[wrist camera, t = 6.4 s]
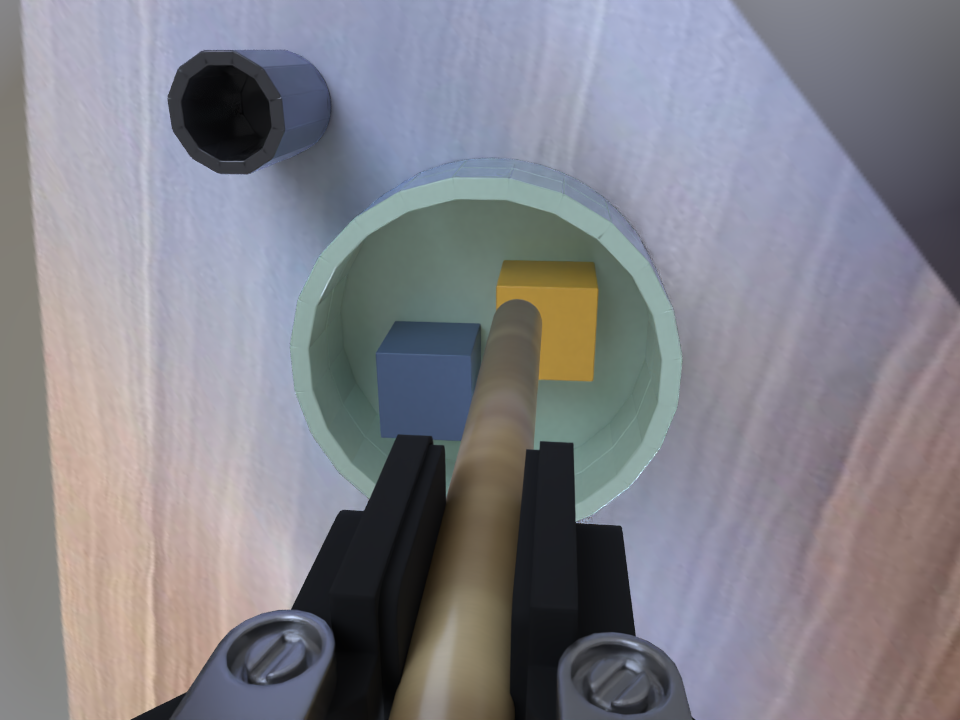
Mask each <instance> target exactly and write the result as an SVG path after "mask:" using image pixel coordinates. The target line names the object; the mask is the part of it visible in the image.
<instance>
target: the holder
mask: <svg viewBox="0 0 960 720" xmlns="http://www.w3.org/2000/svg"><path fill="white" fill-rule="evenodd" d="M168 105H169V112H170V118H171V125H172V129H173V132H174V133H175V135H176V136H177V138H178V139H179V141H180V142H181V144H182V145H183V147H184V148H185V149H186V151H187V152H188V154H189V155H190V157H192V159H194V160H196V161H197V162H199V163H201V164H203V165H204V166H206V167H208V168H210V169H211V170H213V171H215V172H217V173H220V174H251V173H253V172H255V171H258V170H260V169H263V168H265V167H268V166H270V165H273V164H275V163H278V162H280V161H283V160H285V159H288V158H290V157H293V156H295V155H298V154H299V153H301V152H302V151H304V150H306V149H308V148H310V147H311V146H313V145H314V144H315V143H316V142H317V141H318V140H319V139H320V138H321V137H322V135H323V134H324V132H325V130H326V129H327V126H328V123H329V119H330V114H331V101H330V95H329V91H328V88H327V85H326V83H325V81H324V79H323V77H322V76H321V74H320V73H319V71H318V70H317V69H316V68H315V67H314V65H312V64H311V63H310V62H309V61H308V60H306V59H305V58H303V57H302V56H300V55H298V54H296V53H293V52H290V51H288V50H204V51H201V52H200V53H198V54H197V55H195V56H194V57H193V58H191V59H190V60H188V61H187V62H186V63H184V64H183V65H181V66H180V67H179V69H178V70H177V73H176V75H175V78H174V81H173V83H172V86H171V89H170V92H169V94H168Z"/></svg>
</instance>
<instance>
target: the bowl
mask: <svg viewBox="0 0 960 720" xmlns="http://www.w3.org/2000/svg"><path fill="white" fill-rule="evenodd" d="M504 260H526V261H574V262H594V264H595V269H596V276H597V282H598V289H599V292H598V310H597V327H596V345H595V362H594V379H593V381H563V380H538V394H537V409H536V423H535V437H534V450H539V448H540V441H549V442H570V443H574V475H575V511H576V522H577V521H579V520H581V519H584V518H586V517H588V516H591V515H593V514H594V513H596V512H597V511H599V510H600V509H601V508H603V507H604V506H605V505H607V504H608V503H609V502H611V501H612V500H613V499H615V498H616V497H617V496H619V495H620V494H621V493H623V492H624V491H625V490H627V489H628V488H629V487H630V485H632V484H633V483H634V481H635V480H636V479H637V478H638V476H639V475H640V474H641V473H642V471H643V470H644V469H645V467H646V466H647V465H648V464H649V462H650V461H651V460H652V459H653V457H654V456H655V455H656V453H657V452H658V451H659V450H660V448H661V446H662V443H663V441H664V439H665V436H666V434H667V431H668V429H669V426H670V424H671V422H672V419H673V417H674V414H675V412H676V409H677V406H678V399H679V390H680V380H681V371H682V361H683V359H682V351H681V346H680V341H679V335H678V330H677V325H676V320H675V314H674V310H673V308H672V305H671V302H670V300H669V298H668V295H667V293H666V291H665V288H664V286H663V284H662V281H661V279H660V277H659V274H658V272H657V270H656V268H655V266H654V264H653V262H652V260H651V258H650V256H649V254H648V252H647V250H646V248H645V247H644V245H643V243H642V241H641V239H640V237H639V235H638V234H637V232H636V231H635V230H634V229H633V228H632V227H631V225H630V224H629V223H628V222H627V221H626V219H625V218H624V217H623V216H622V214H621V213H620V212H619V211H618V210H617V209H616V208H614V207H613V206H612V205H611V204H610V203H609V202H608V201H607V200H606V199H605V198H604V197H602V196H601V195H600V194H598V193H597V192H595V191H594V190H593V189H591V188H590V187H588V186H587V185H585V184H584V183H582V182H580V181H578V180H576V179H574V178H572V177H570V176H569V175H567V174H565V173H563V172H560V171H557V170H554V169H552V168H549V167H546V166H543V165H540V164H536V163H531V162H526V161H522V160H517V159H504V158H479V159H467V160H462V161H457V162H452V163H447V164H444V165H441V166H438V167H435V168H432V169H429V170H426V171H423V172H420V173H418V174H417V175H415V176H413V177H412V178H410V179H408V180H406V181H404V182H402V183H401V184H400V185H398V186H397V187H395V188H393V189H392V190H390V191H388V192H387V193H385V194H383V195H382V196H381V197H379V198H378V199H377V200H376V201H375V202H373V203H372V204H371V205H370V206H368V207H367V208H366V209H365V210H364V211H362V212H361V213H360V214H359V215H357V216H356V217H355V218H354V219H353V220H352V221H351V222H350V223H349V224H348V225H347V226H346V227H345V228H344V229H343V230H342V231H341V233H340V234H339V235H338V236H337V237H336V238H335V239H334V240H333V241H332V242H331V243H330V244H329V245H328V247H327V248H326V249H325V250H324V251H323V252H322V253H321V255H320V256H319V257H318V259H317V261H316V263H315V265H314V267H313V269H312V271H311V273H310V275H309V277H308V279H307V281H306V283H305V285H304V287H303V289H302V291H301V293H300V295H299V298H298V301H297V306H296V312H295V318H294V324H293V329H292V335H291V341H290V345H291V346H290V353H291V362H292V371H293V381H294V390H295V392H296V396H297V398H298V401H299V404H300V406H301V409H302V411H303V414H304V416H305V419H306V421H307V424H308V427H309V429H310V432H311V434H312V436H313V437H314V439H315V440H316V442H317V443H318V444H319V446H320V447H321V449H322V450H323V451H324V453H325V454H326V456H327V457H328V458H329V460H330V461H331V463H332V464H333V465H334V467H335V468H336V470H337V471H339V473H340V474H341V475H342V476H343V477H344V478H345V479H346V480H348V481H349V482H350V483H351V484H352V485H353V486H355V487H356V488H357V489H358V490H359V491H360V492H361V493H363V494H364V495H365V496H366V497H367V498H368V499H370V497H371V494H372V492H373V490H374V487H375V485H376V483H377V480H378V478H379V476H380V474H381V471H382V469H383V467H384V464H385V462H386V460H387V457H388V455H389V453H390V451H391V448H392V446H393V444H394V441H395V439H396V438H382V437H381V433H380V416H379V400H378V384H377V368H376V352H377V350H378V348H379V347H380V345H381V343H382V342H383V340H384V338H385V337H386V335H387V334H388V332H389V330H390V329H391V327H392V325H393V324H394V322H395V321H411V322H446V323H479V324H481V363H482V359H483V355H484V351H485V347H486V343H487V340H488V336H489V332H490V328H491V324H492V320H493V317H494V314H495V312H496V286H497V282H498V278H499V275H500V271H501V268H502V264H503V261H504ZM433 443H434V445H444V447H445V464H446V497H447V493H448V489H449V485H450V482H451V478H452V474H453V470H454V466H455V462H456V459H457V455H458V451H459V447H460V443H461V441H447V440H433Z"/></svg>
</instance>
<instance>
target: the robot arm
mask: <svg viewBox="0 0 960 720" xmlns="http://www.w3.org/2000/svg"><path fill="white" fill-rule="evenodd" d="M445 506H446V464H445V447H444V445H434V443H433V438H432V436H424V435H403V434H398V435H397V437H396V439H395V441H394V444H393V446H392V448H391V451H390V453H389V455H388V457H387V460H386V462H385V464H384V467H383V469H382V471H381V474H380V476H379V478H378V480H377V483H376V485H375V487H374V490H373V492H372V494H371V497H370V499H369V501H368V503H367V506H366V508H365V510H364V511H354V510H342V511H340V512H339V514H338V515H337V517H336V519H335V521H334V523H333V525H332V527H331V529H330V531H329V533H328V535H327V537H326V539H325V541H324V543H323V545H322V547H321V549H320V551H319V553H318V556H317V558H316V560H315V562H314V564H313V566H312V568H311V570H310V572H309V574H308V576H307V578H306V580H305V582H304V584H303V586H302V588H301V590H300V592H299V594H298V596H297V598H296V600H295V603H294V605H293V607H292V609H291V610H277V611H272V612H267V613H262V614H260V615H257V616H255V617H252V618H250V619H248V620H245V621H244V622H242V623H241V624H239V625H238V626H236V627H235V628H233V629H232V630H231V631H229V633H228V634H227V635H226V636H225V637H224V638H223V639H222V641H221V642H220V643H219V644H218V646H217V647H216V649H215V650H214V652H213V653H212V655H211V656H210V658H209V659H208V661H207V662H206V664H205V666H204V667H203V669H202V670H201V672H200V673H199V675H198V676H197V678H196V679H195V681H194V682H193V684H192V685H191V687H190V688H189V690H188V691H187V692H186V693H184V694H182V695H180V696H178V697H176V698H174V699H172V700H170V701H168V702H166V703H164V704H162V705H159V706H157V707H155V708H153V709H151V710H149V711H147V712H145V713H143V714H141V715H139V716H137V717H135V718H133V719H131V720H389V716H390V712H391V708H392V704H393V701H394V697H395V693H396V690H397V688H398V686H399V684H400V681H401V677H402V673H403V669H404V666H405V662H406V658H407V654H408V650H409V646H410V642H411V638H412V634H413V631H414V627H415V623H416V619H417V615H418V611H419V607H420V603H421V600H422V596H423V592H424V588H425V584H426V580H427V576H428V572H429V569H430V565H431V561H432V557H433V553H434V549H435V545H436V541H437V537H438V534H439V530H440V526H441V522H442V518H443V514H444V510H445ZM510 695H511V697H512V700H513V702H514V707H515V720H695V719H694V718H692V716H691V712H690V708H689V704H688V701H687V697H686V693H685V689H684V685H683V681H682V678H681V676H680V673H679V671H678V669H677V667H676V665H675V663H674V662H673V661H672V660H671V659H670V658H669V657H668V656H667V655H666V653H665V652H664V651H662V650H661V649H659V648H658V647H656V646H655V645H653V644H652V643H650V642H648V641H646V640H643V639H641V638H638V637H636V635H635V627H634V619H633V611H632V603H631V595H630V587H629V579H628V571H627V563H626V555H625V547H624V540H623V532H622V527H621V526H614V525H597V524H580V523H576V511H575V475H574V443H570V442H549V441H540V448H539V450H532V449H526V457H525V467H524V478H523V489H522V500H521V510H520V521H519V532H518V543H517V553H516V564H515V575H514V586H513V598H512V616H511V656H510Z"/></svg>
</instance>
